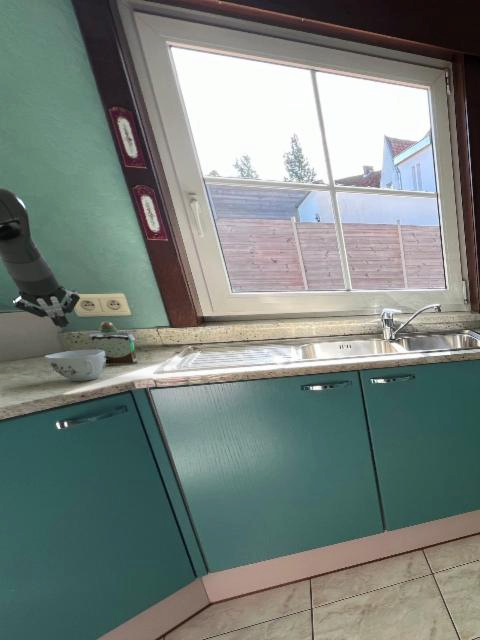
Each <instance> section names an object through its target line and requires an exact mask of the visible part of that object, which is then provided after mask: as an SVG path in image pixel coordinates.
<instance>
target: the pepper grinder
mask: <svg viewBox="0 0 480 640" xmlns="http://www.w3.org/2000/svg"><path fill="white" fill-rule="evenodd" d="M98 329H99V333H111V332H119V329H118V327H117V326H116V327H115V325H114V323H113V322H111V321H107V320H105V321H102V322H101V323H100V328H98Z"/></svg>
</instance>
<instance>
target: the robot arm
mask: <svg viewBox="0 0 480 640" xmlns="http://www.w3.org/2000/svg"><path fill="white" fill-rule="evenodd" d="M30 223H31V222H30V216H29V212H28V209H27V206H26V204H25V203H24V202H23V199H21V198H20V197H19V196H18V195H17V194H16V193H15V192H13V191H11V190H10V189H7V188H4V187H0V260H1V262H2V265H3V267H4V269H5V270H6V272H7V274H8V275H9V277H10V278H11V279H12V281H13V283H14V284H15V286H16V287H17V289H18V290H19V291H18V295H19V296H18V297H17V298H12V299H11V301H12V303H13V305H14V307H15V308H16V309H19V310H21V311H24V312H26V313H29V314H32V315H34V316H37V317H40V318H45V317H48V318H50V320H51V321H52V323H53V324H54V326H56V327H59V328H66V327H68V325H69V324H70V322H69V320H68V319H67V317H66V314H71V313H72V312H73V311H74V309H75V307H76V305H78V303H79V300H81V296H80V295H79V294H78V291H76V290H68V289H65V287H64V286H62V285H61V284H60V283H59V281H58V278H57V277H56V275H55V274H54V272H53V270H52V267H51V266H50V265H49V263H48V262H47V260H46V258H45V257H44V255H42V253H41V252H40V250H39V248H38V246H37V244H36V243H35V240H34V238H33V236H32V230H31V224H30ZM65 297H66V298H65ZM64 299H65V300H64ZM63 300H64V301H63ZM61 303H62V305H61ZM51 307H53V309H54V310H53V309H52V308H51Z"/></svg>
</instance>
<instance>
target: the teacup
mask: <svg viewBox="0 0 480 640" xmlns="http://www.w3.org/2000/svg"><path fill="white" fill-rule="evenodd" d="M44 358H45V360H46V361H47V363H48V364H49V366H50V367H51V368H52V369H53V370H54V371H55V372H56V373H58V374H59V375H60V376H62V377H64V378H66V379H69V380H70V381H72V382H86V381H92V380H96V379H98V378H99V377H100V375H101V374H103V372H104V370H105V367H106V365H107V364H106V356H105V352H104V351H103V350H96V349H81V350H80V349H76V350H66V351H61V352H55V353H51V354H46V355H45V356H44Z"/></svg>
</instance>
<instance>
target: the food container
mask: <svg viewBox="0 0 480 640" xmlns="http://www.w3.org/2000/svg"><path fill="white" fill-rule="evenodd" d="M88 338H89V341H90V342H92V344H93V346H94V349H95V350H103V351H104V352H105V356H106V364H105V365H136V364H138V360H137V354H136V350H135V345H134V341H135V340H136V338H135V337H134V335H133V334H132V333H131V332H126V331H121V332H120V331H118V332H111V333H100V332H97V333H91V334H89V337H88Z"/></svg>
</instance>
